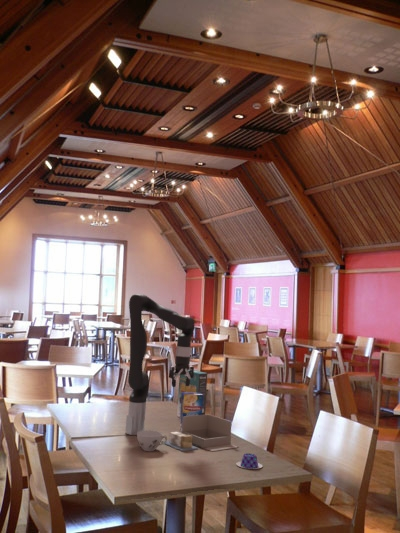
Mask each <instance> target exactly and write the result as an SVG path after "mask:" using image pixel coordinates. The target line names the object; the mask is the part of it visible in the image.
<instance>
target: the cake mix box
mask: <svg viewBox="0 0 400 533" xmlns="http://www.w3.org/2000/svg"><path fill="white" fill-rule="evenodd" d="M188 373H189V370H188ZM178 377H179V381H178V394H177V395H178V396H177V410H176V411H177V413H176V417H177V418H180V411H181V395H182V392H190V393H201V394H203V407H202V415H206V406H207V404H206V403H207V402H206V400H207V388H208V387H207V386H208V385H207V384H208V373H207V372H203V371H201V370H200V371H199V370H196V369H194V377H193V378H191V379H190V385H189V386H186V379H187V378H186V376H185V375H179V376H178Z"/></svg>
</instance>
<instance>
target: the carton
mask: <svg viewBox="0 0 400 533" xmlns="http://www.w3.org/2000/svg"><path fill="white" fill-rule="evenodd" d="M232 422H233V421H231V420H228V419H224V418H222V417H219V416H216V415H213V414H210V413H209V414H207V413H205V415H195V416H185V417H183V422H182V434H185V435H191V436H192V446H195V447H197V448H201V449H204V450H207V451H209V452H217V451H218V452H221V451H227V450H231V449H232V450H233V449H238V448H239V446H236V445H233V444H231V443H232V442H231V441H232Z"/></svg>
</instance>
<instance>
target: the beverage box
mask: <svg viewBox="0 0 400 533" xmlns="http://www.w3.org/2000/svg"><path fill="white" fill-rule="evenodd" d="M202 407H203V394H201V393H190V392H182V395H181V411H180V417H179V431H178V432H179V433H182V422H183V417H185V416H195V415H202Z"/></svg>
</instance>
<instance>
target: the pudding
mask: <svg viewBox="0 0 400 533" xmlns="http://www.w3.org/2000/svg"><path fill="white" fill-rule="evenodd" d="M235 463H236V466H238V467H240V468H242V469H249V470H257V469H261V468H263V464H262V463H259V462H258V458H257V454H256V455H255V453H254V454H253V453H249V452H247V453H244V454H243V455H242V459H241V461H237V462H235Z"/></svg>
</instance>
